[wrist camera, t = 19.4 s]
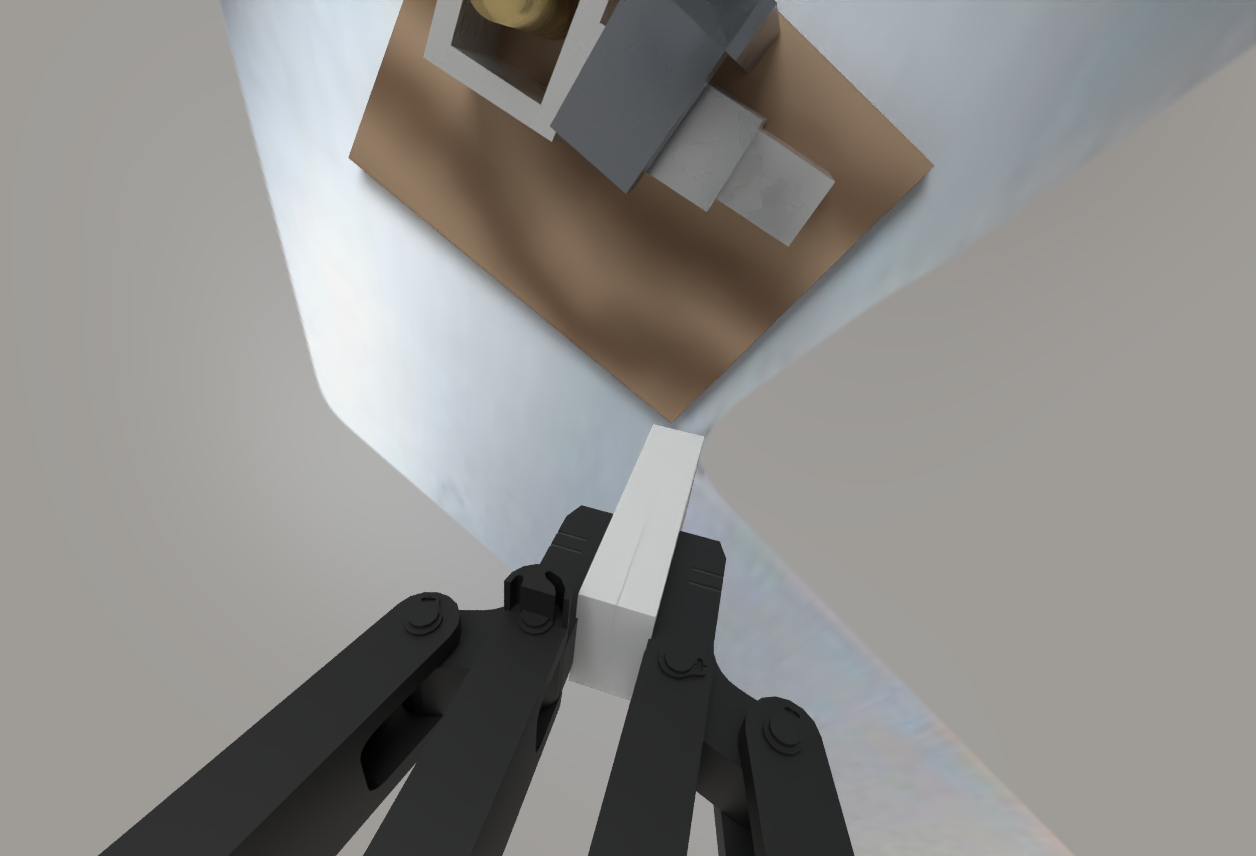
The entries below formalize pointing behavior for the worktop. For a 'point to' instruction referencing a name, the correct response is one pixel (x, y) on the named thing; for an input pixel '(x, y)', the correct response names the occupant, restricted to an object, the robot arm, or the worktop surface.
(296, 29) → the worktop surface
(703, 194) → the link
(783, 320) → the worktop surface
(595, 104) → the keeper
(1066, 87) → the worktop surface
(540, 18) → the brass rounded cylinder
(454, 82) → the board
